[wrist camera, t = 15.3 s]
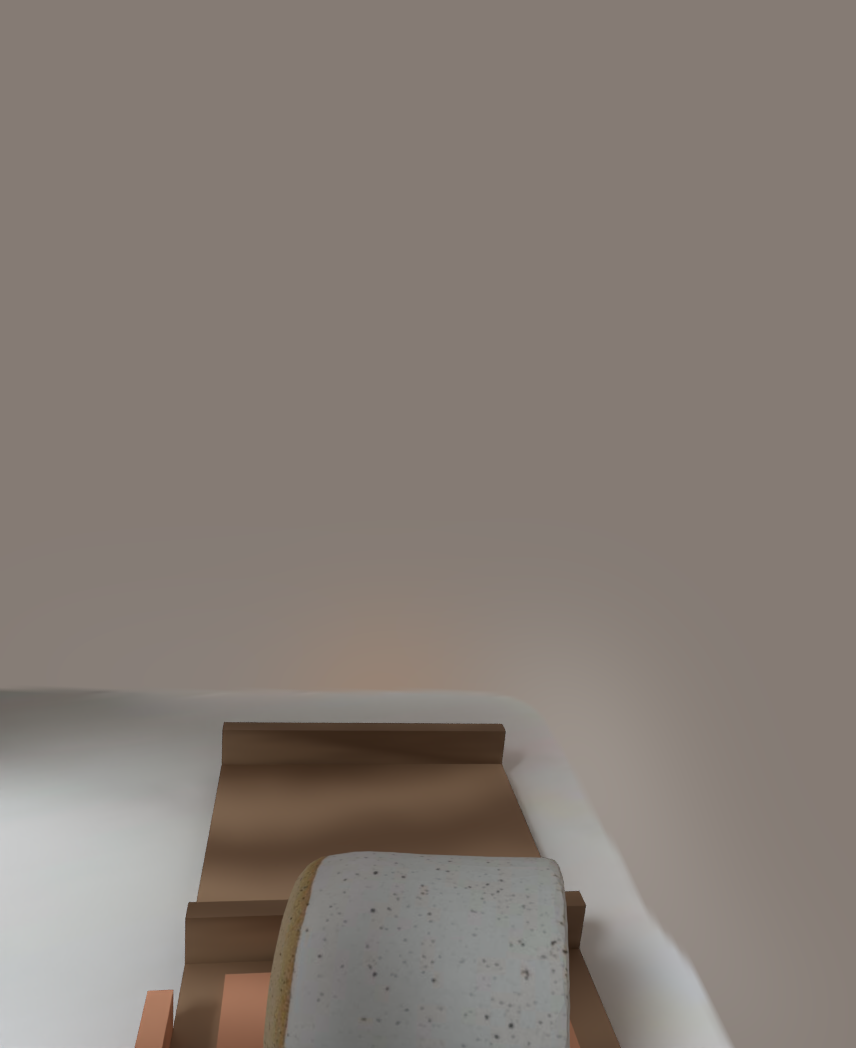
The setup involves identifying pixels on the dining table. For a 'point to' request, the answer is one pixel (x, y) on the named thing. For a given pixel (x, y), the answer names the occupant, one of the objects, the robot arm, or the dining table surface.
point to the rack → (328, 829)
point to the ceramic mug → (422, 954)
